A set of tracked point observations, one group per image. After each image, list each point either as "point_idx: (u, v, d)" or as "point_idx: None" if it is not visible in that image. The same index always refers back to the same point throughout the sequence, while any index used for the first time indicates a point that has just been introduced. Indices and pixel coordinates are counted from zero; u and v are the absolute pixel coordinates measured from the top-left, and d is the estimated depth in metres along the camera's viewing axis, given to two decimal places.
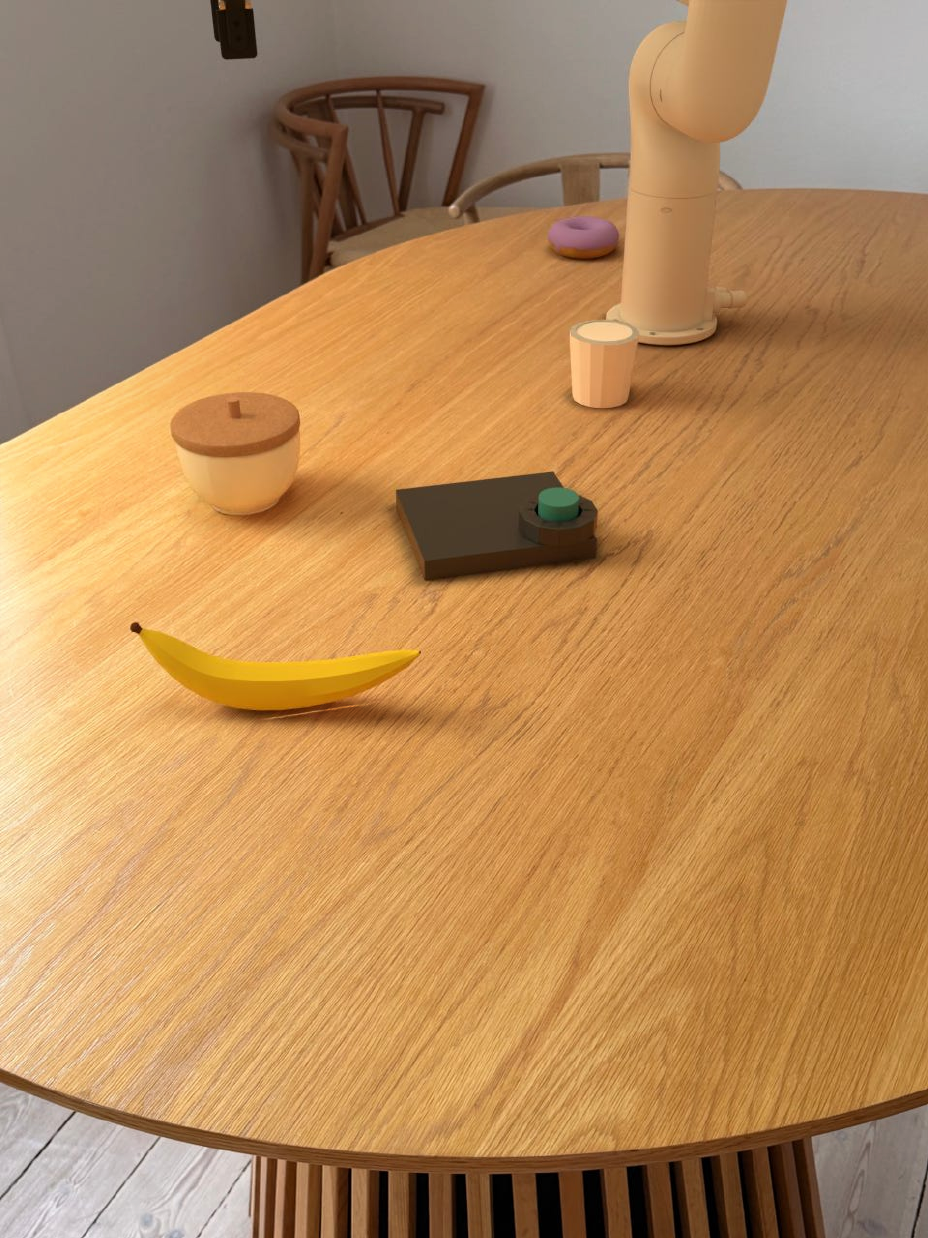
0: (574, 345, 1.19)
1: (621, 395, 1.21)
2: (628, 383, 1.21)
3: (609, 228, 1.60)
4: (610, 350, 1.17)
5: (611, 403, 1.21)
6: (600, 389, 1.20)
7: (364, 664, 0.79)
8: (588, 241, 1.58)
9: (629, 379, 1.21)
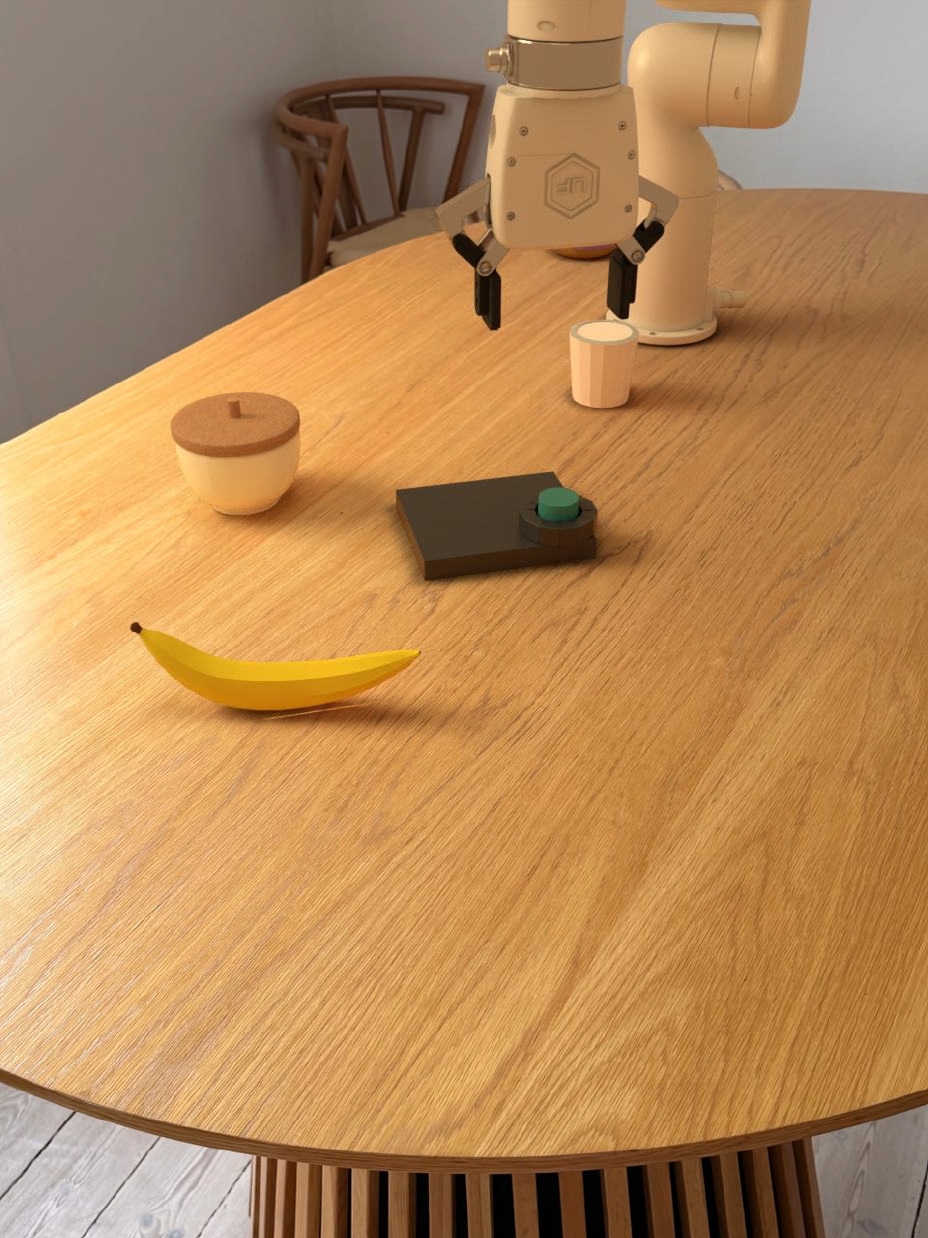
0: (574, 345, 1.19)
1: (621, 395, 1.21)
2: (628, 383, 1.21)
3: None
4: (610, 350, 1.17)
5: (611, 403, 1.21)
6: (600, 389, 1.20)
7: (364, 664, 0.79)
8: None
9: (629, 379, 1.21)
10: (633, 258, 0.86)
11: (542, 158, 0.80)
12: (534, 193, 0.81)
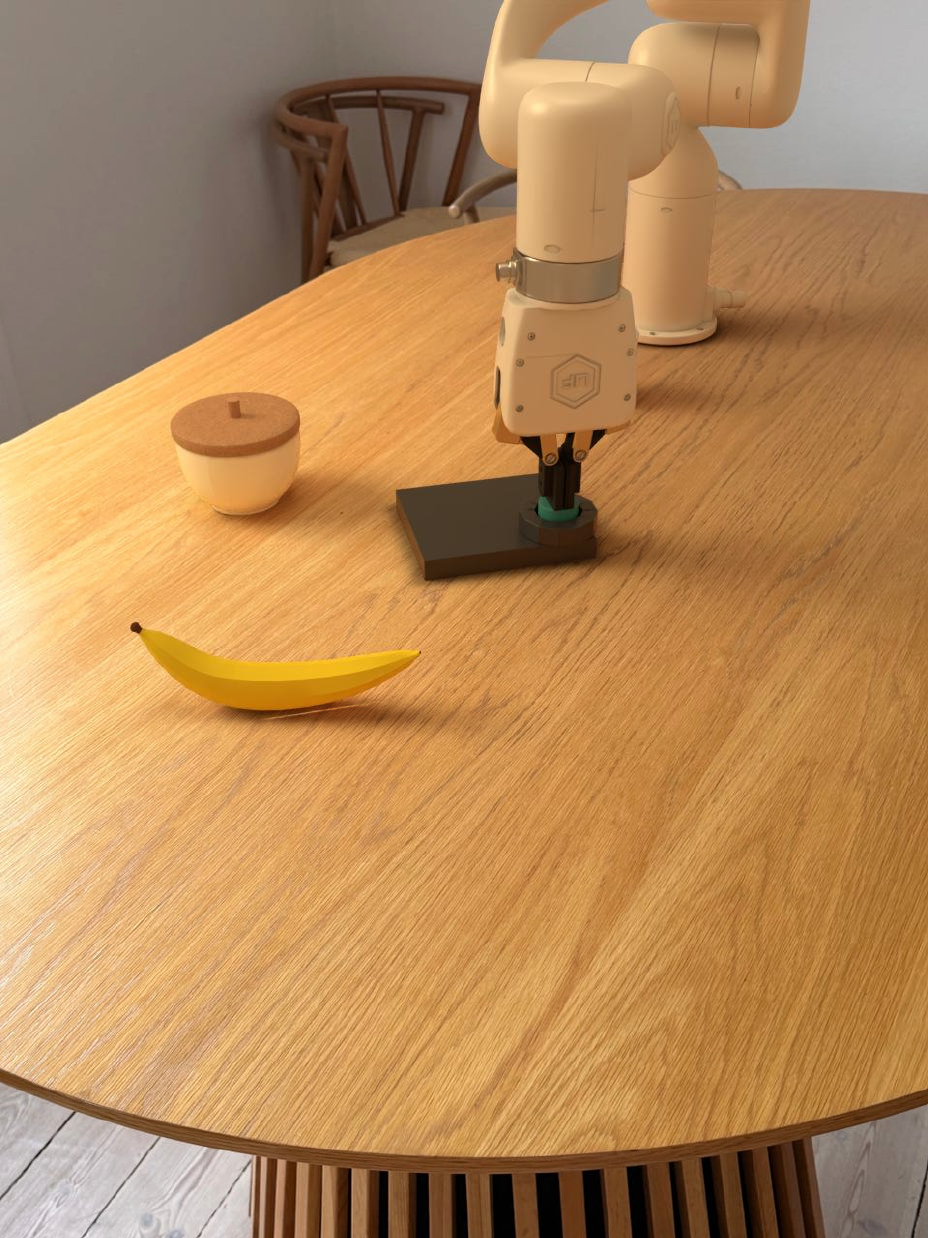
0: None
1: None
2: None
3: None
4: None
5: None
6: None
7: (364, 664, 0.79)
8: None
9: None
10: (576, 457, 0.93)
11: (548, 359, 0.86)
12: (541, 388, 0.87)
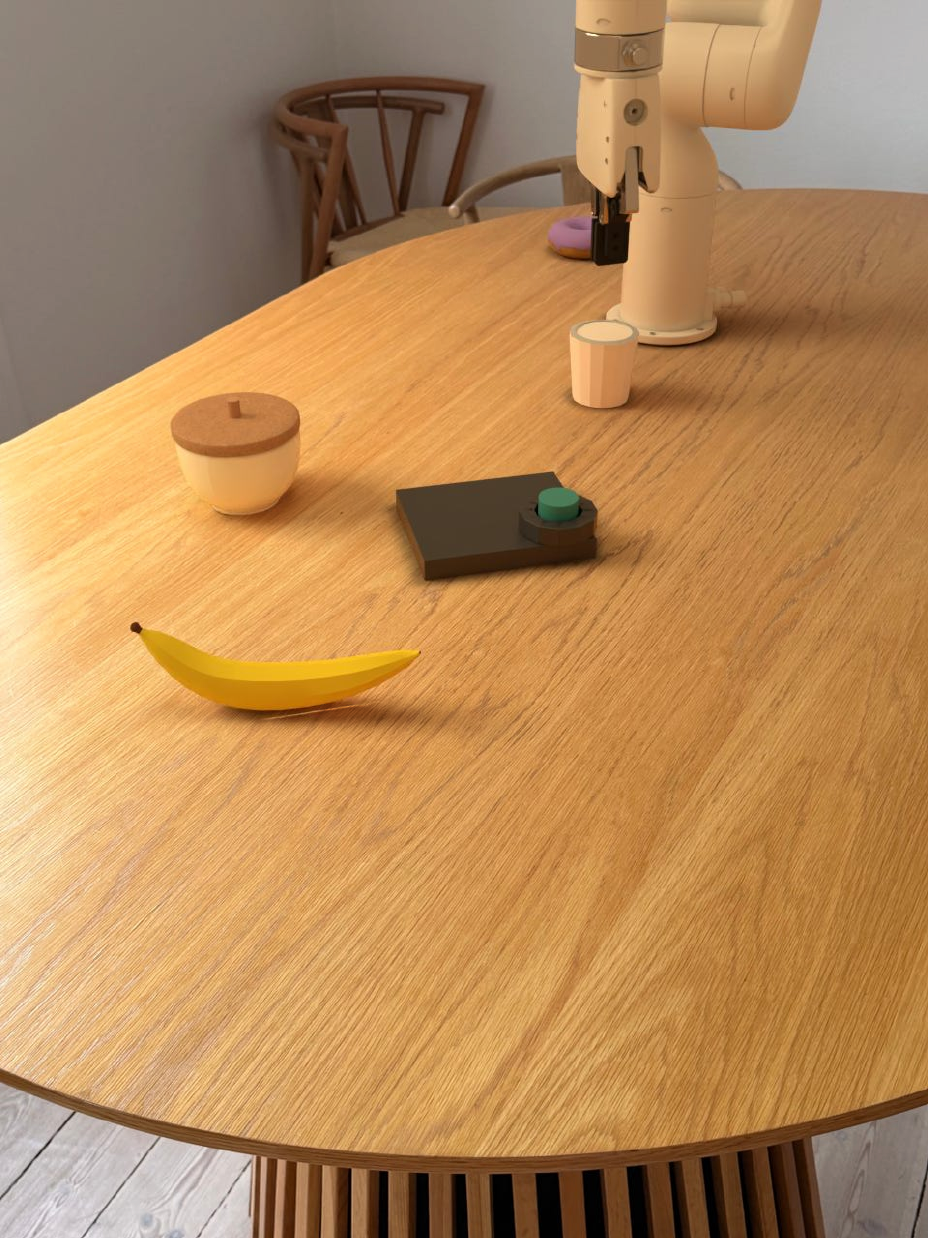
0: (574, 345, 1.19)
1: (621, 395, 1.21)
2: (628, 383, 1.21)
3: None
4: (610, 350, 1.17)
5: (611, 403, 1.21)
6: (600, 389, 1.20)
7: (364, 664, 0.79)
8: (588, 241, 1.58)
9: (629, 379, 1.21)
10: None
11: None
12: None
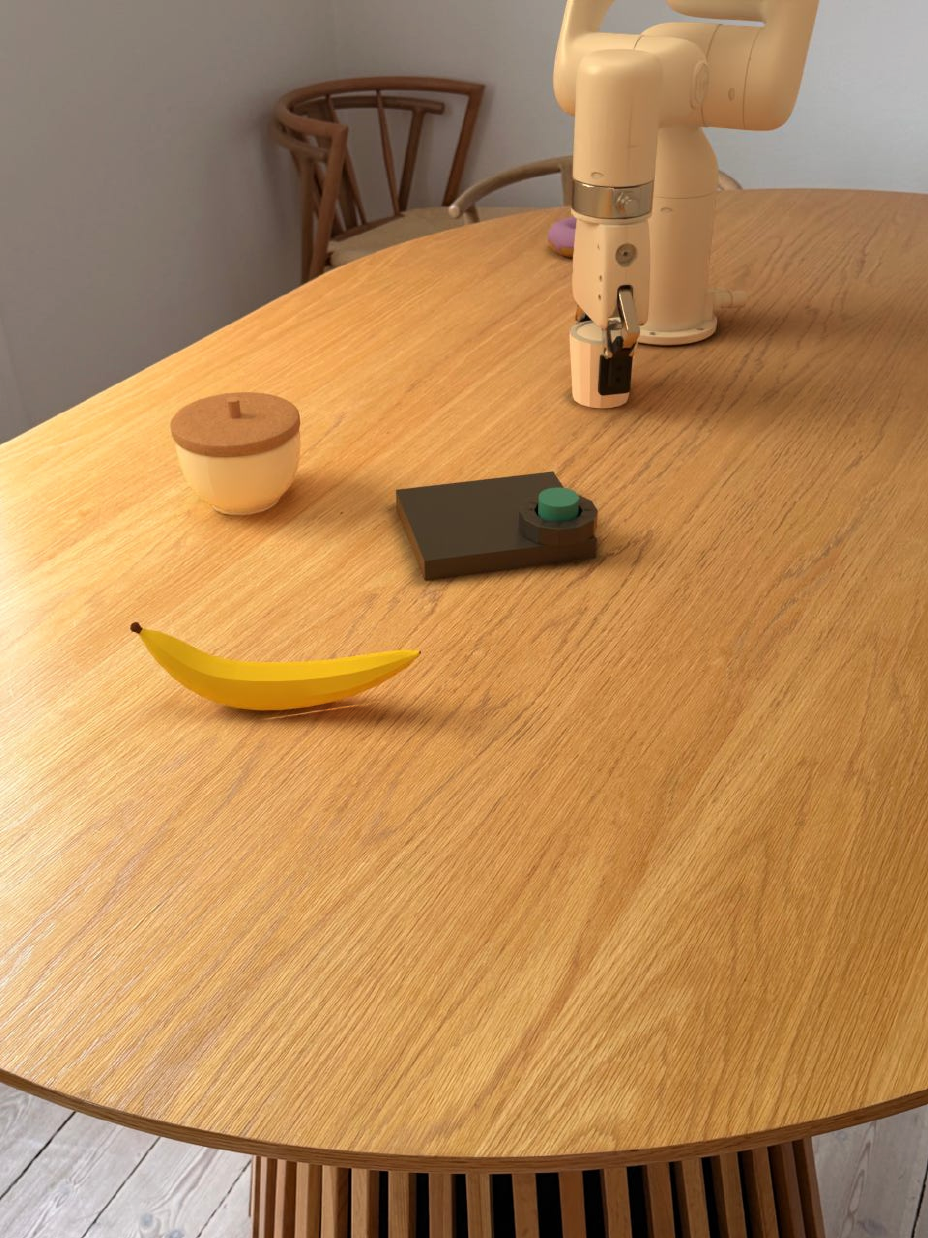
0: (574, 345, 1.19)
1: (621, 395, 1.21)
2: None
3: None
4: None
5: (611, 403, 1.21)
6: None
7: (364, 664, 0.79)
8: None
9: None
10: None
11: None
12: None
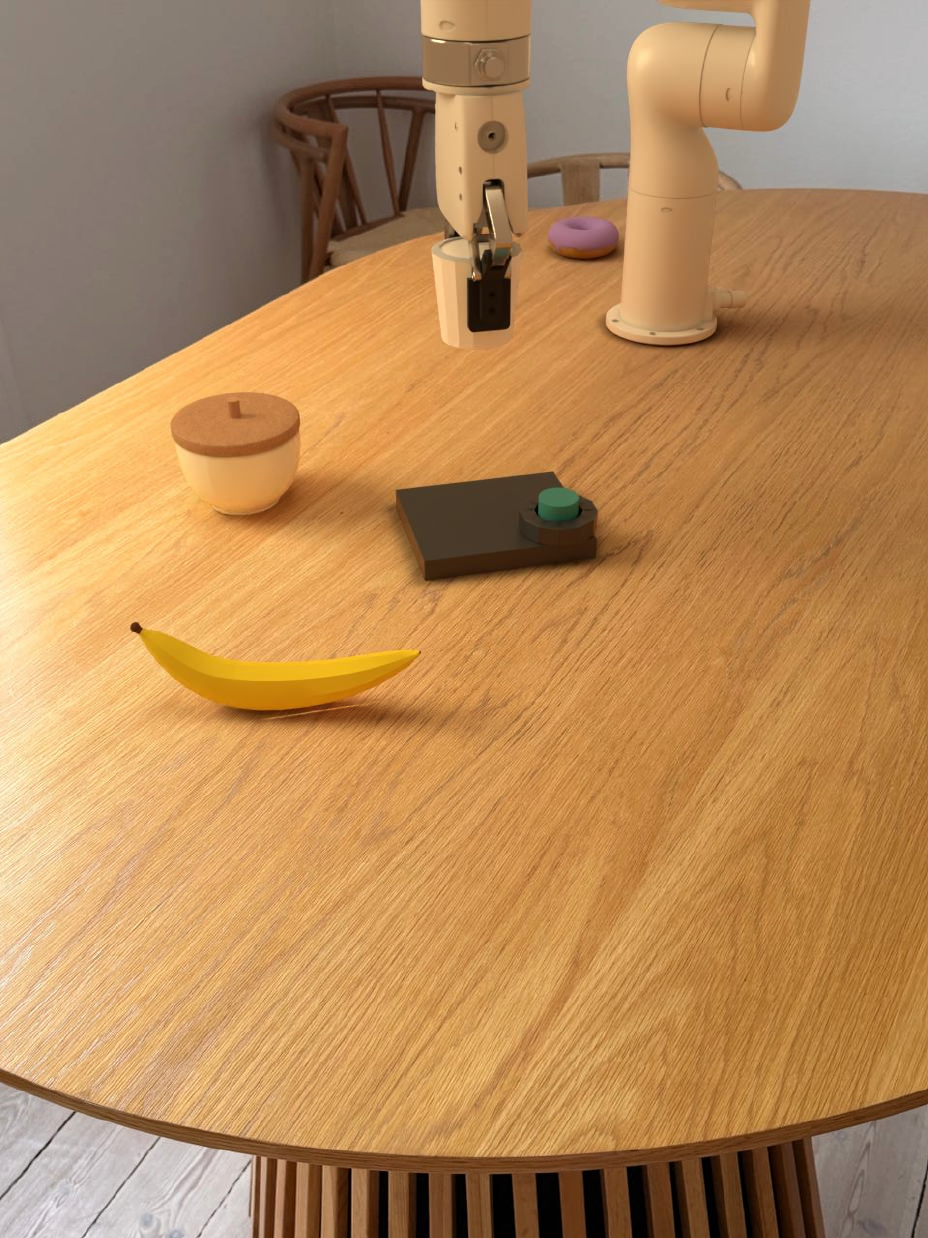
0: (436, 266, 0.91)
1: (500, 332, 0.92)
2: (510, 317, 0.93)
3: (609, 228, 1.60)
4: None
5: (487, 343, 0.93)
6: None
7: (364, 664, 0.79)
8: (588, 241, 1.58)
9: (511, 312, 0.92)
10: None
11: None
12: None
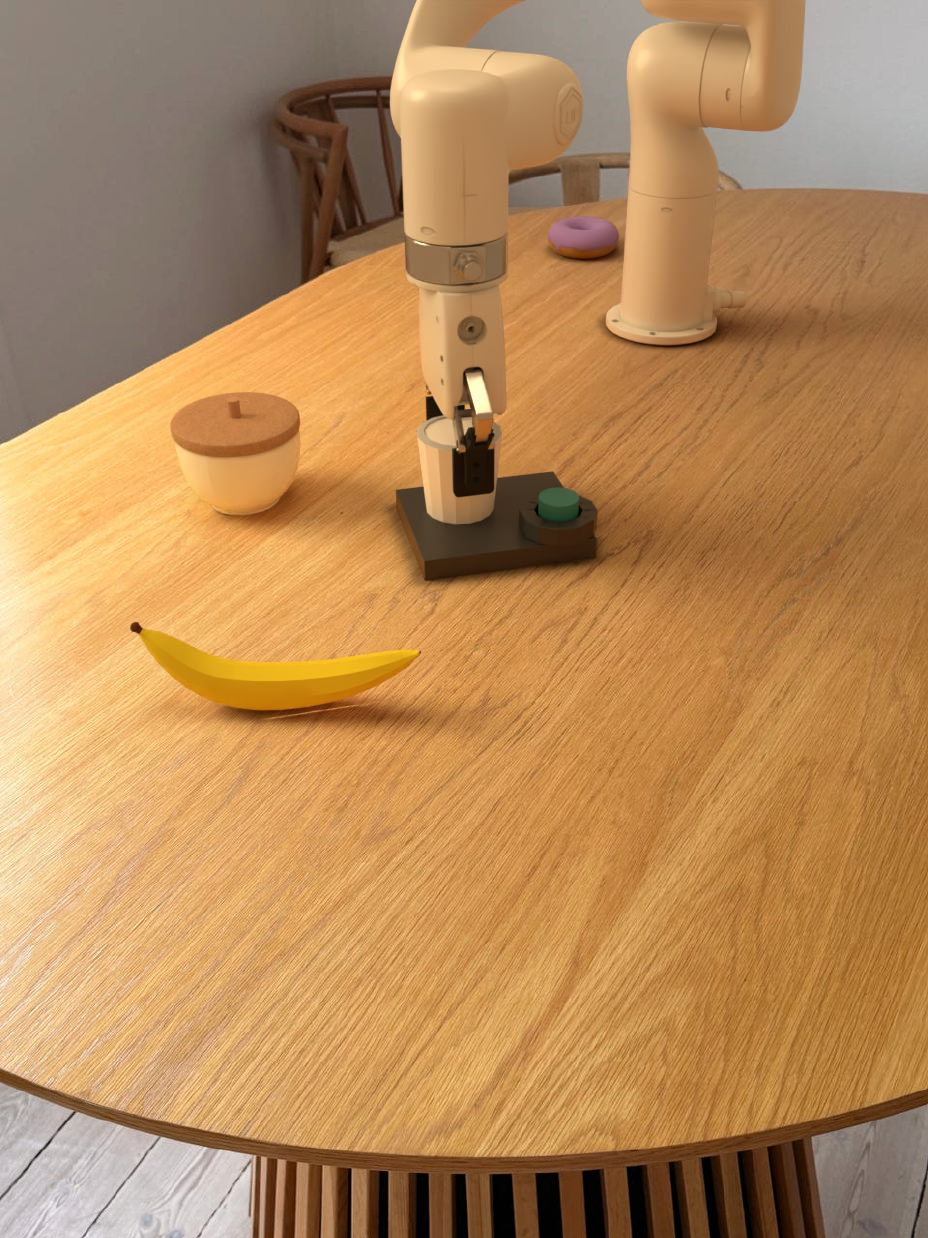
0: (421, 449, 0.96)
1: (481, 508, 0.98)
2: (490, 493, 0.98)
3: (609, 228, 1.60)
4: None
5: (469, 518, 0.98)
6: (453, 502, 0.97)
7: (364, 664, 0.79)
8: (588, 241, 1.58)
9: None
10: None
11: None
12: None
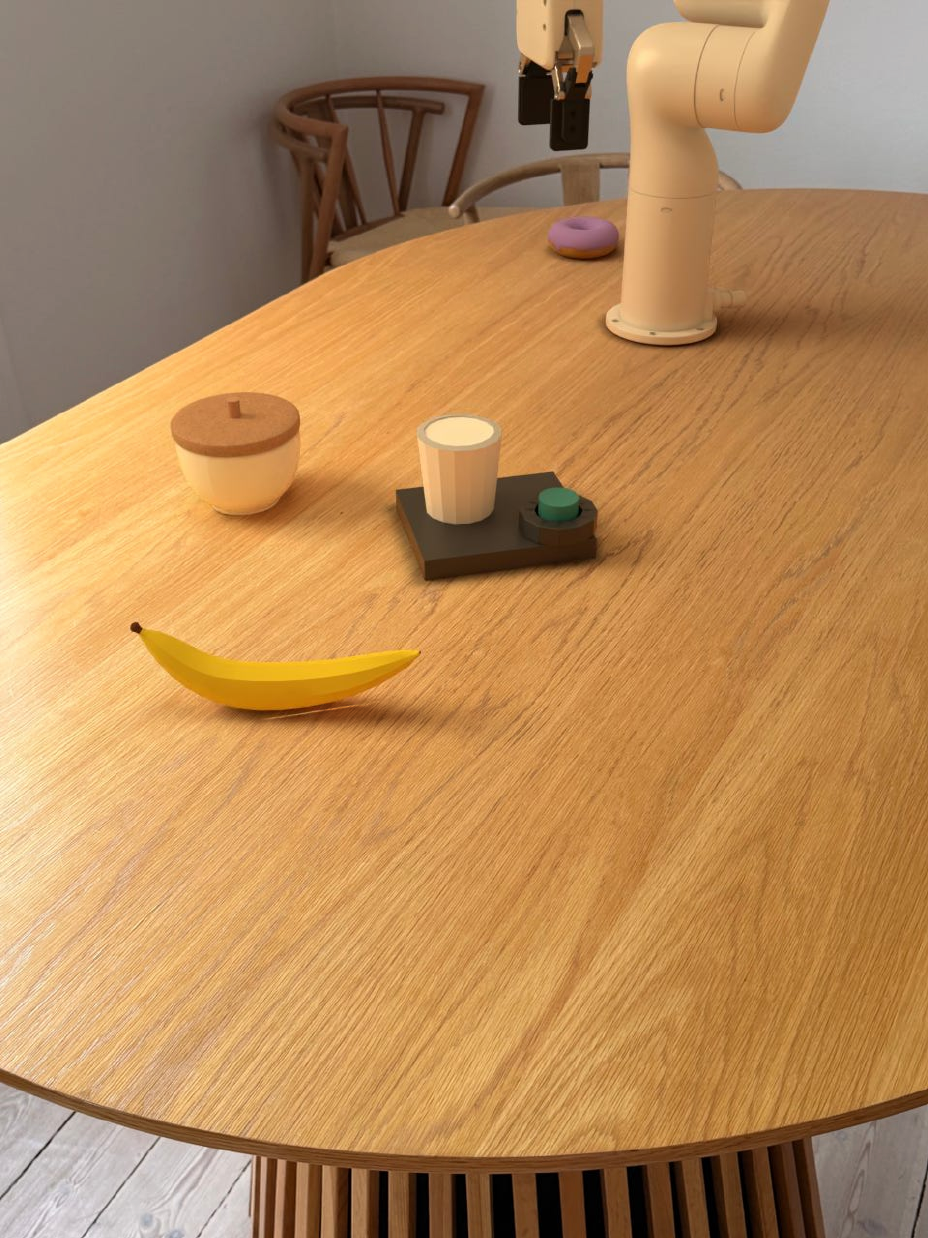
0: (421, 449, 0.96)
1: (481, 508, 0.98)
2: (490, 493, 0.98)
3: (609, 228, 1.60)
4: (462, 457, 0.94)
5: (469, 518, 0.98)
6: (453, 502, 0.97)
7: (364, 664, 0.79)
8: (588, 241, 1.58)
9: (491, 489, 0.98)
10: None
11: None
12: None
